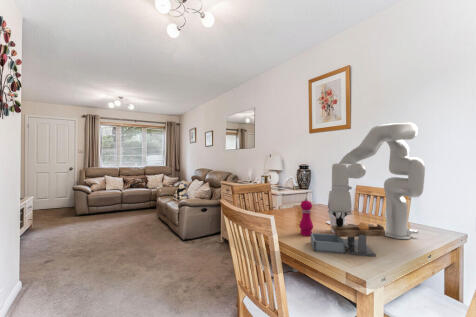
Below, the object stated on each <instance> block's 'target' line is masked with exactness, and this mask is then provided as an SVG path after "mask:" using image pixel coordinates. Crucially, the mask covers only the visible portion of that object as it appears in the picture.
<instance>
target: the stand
mask: <svg viewBox="0 0 476 317" xmlns="http://www.w3.org/2000/svg"><path fill="white" fill-rule="evenodd" d="M347 225H355V224H354V223H347ZM367 237H368V236H367V235H364V234H358V237H357V238H356V237H341V238H342V240H343V241H344V242H345V250H347V252H348V253H349V255H352V256H361V257H362V256H363V257H364V256H365V257H375V258H376V257H377V254H376V253H375V251H373V250H372V249H371V248H370V246H368V244H367V240H368V239H367Z"/></svg>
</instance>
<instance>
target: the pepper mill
mask: <svg viewBox="0 0 476 317" xmlns="http://www.w3.org/2000/svg"><path fill="white" fill-rule="evenodd" d="M300 208H301V213H302V215H301V219H300V222H299V224H298V226H299V228H300V231H299V234H300V235H301V236H304V237H311V233H313V229H314V224H313V222H312V219H311V213H312V210H311V209H312V208H313V204H312V202H311V201H310V200H309V198H308V197H305V198H304V200H302V201H301V203H300Z"/></svg>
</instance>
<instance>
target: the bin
mask: <svg viewBox="0 0 476 317" xmlns="http://www.w3.org/2000/svg"><path fill="white" fill-rule="evenodd" d="M342 238H343V237H338V236H337V234H335V233H333V234H332V233H330V234H329V233H318V232H317V233H316V232H312V233H311V236H310V244H311V247H312V250H313V252H314V253H315V252H316V253H328V254H339V255H346V248H345V242H344V241H343V240H342Z"/></svg>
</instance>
